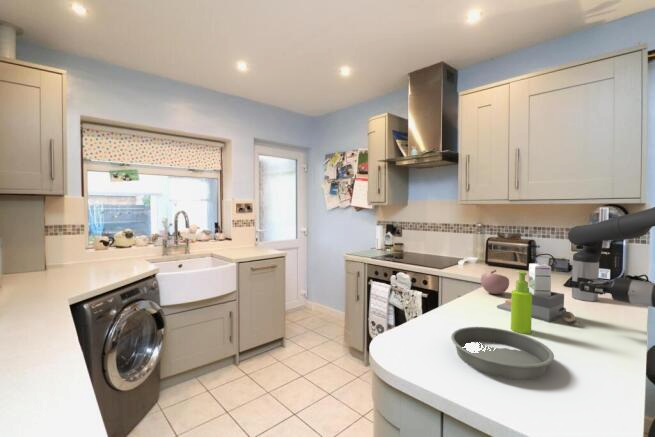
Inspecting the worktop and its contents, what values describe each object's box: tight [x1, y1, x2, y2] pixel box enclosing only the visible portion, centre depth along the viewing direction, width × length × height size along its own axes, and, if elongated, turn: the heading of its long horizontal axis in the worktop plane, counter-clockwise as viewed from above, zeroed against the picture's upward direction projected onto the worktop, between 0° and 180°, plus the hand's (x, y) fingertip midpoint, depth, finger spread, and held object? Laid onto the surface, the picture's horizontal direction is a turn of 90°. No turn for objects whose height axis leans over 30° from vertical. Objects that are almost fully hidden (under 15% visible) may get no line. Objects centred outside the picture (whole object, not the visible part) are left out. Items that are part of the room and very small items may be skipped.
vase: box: [559, 307, 581, 328], centre depth 111 cm, size 5×5×6 cm
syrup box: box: [528, 262, 552, 297], centre depth 121 cm, size 6×6×14 cm
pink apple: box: [480, 269, 510, 295], centre depth 150 cm, size 12×12×11 cm
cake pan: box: [450, 326, 555, 380], centre depth 86 cm, size 25×25×4 cm
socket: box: [496, 287, 565, 323], centre depth 124 cm, size 12×19×8 cm, turn 32°
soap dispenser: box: [510, 270, 533, 335], centre depth 106 cm, size 6×7×20 cm
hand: (572, 281), depth 112 cm, fingers open, 8 cm apart
